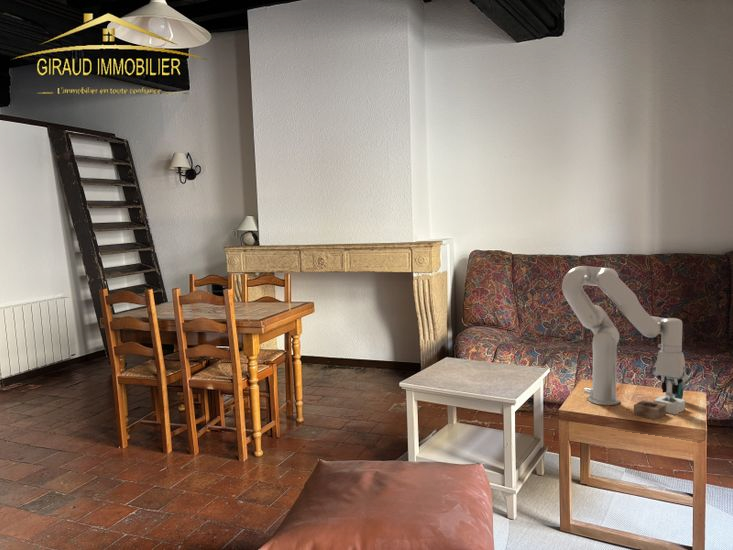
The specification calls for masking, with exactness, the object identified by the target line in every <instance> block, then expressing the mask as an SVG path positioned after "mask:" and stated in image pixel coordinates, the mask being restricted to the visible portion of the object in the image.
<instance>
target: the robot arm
mask: <svg viewBox="0 0 733 550" xmlns="http://www.w3.org/2000/svg"><path fill="white" fill-rule="evenodd" d="M584 286H592V287H598V288H599V289H600V290H601V291H602V292H603V294H605V295H606V296H607V298H609V299H610V300H611V301H612V302H613V304H615V306H616V307H617V308H618V309H619V310H620V311H621V313H622V314H623V315H624V316H625V317H626V319H627V320H628V321H629V322H630V323H631V324H632V326H634V328H635V329H637V331H638V332H639V333H640V334H642V336H644V337H646V338H651V339H652V338H656V337H657V336H659V335H660V336H661V337H660V338H661V339H660V341H661V343H659V344H657V348H659V349H660V350H658V353H657V359H656V364H655V370H654V371H653V372H652V374H653V375H654V376H655V377H656V378H658V379H659V380H660V383H661V391H662V393H665V392H666V378H668V377H672V378H674V382H675V383H674V385H673V394H677V393H678V392H679V384H680V383H681V382H683V383H684V382H686V381H689V376H688V375H687V372H686V361H685V355H684V352H682V351H683V321H682V320H681V319H679V318H677V317H667V318H666V317H659V316H652V315H650V314H649V313H648V312H647V311H646V310H645V308H644V307H643V306H642V305H641V303H640V301H639V299H638V297H637V295H636V294H635V292H633V291H632V289H630V288H629V286H627V284H625V282H623V281H622V279H620V278H619V273H618V272H617V271H616V270H615V269H613V268H611V267H600V266H599V267H597V266H588V265H580V266H579V265H578V266H576V267H573V268H571V269H570V270H568V271H567V273H565V275H564V277H563V280H562V284H561V292H562V294H563V296H564V298H565V300H566V302H567V303H568V305H569V306H570V308H571V309H572V311H573V313H574V314H575V316H576V317H577V319H578V320H579V322H580V324H581V325H582V326H583V327H584V328H586V329H588V330H590V331H591V332H592V333H593V337H592V385H591V386H592V388H588V387H584V389H583V393H584V394H587V395H589V396H588V397H587V398H588V399H587V400H588V401H589V402H590V403H592V404H594V405H595V404H596V405H600V406H617V405H618V404H620V401H621V400H620V399H619V397H617V371H618V370H617V364H618V363H617V361H618V360H617V359H618V356H617V355H618V354H617V352H618V351H617V349H618V346H617V345H618V343H619V340H620V333H619V330H618V328H617V327H616V326H615V324H614V323H613V322H612V320H611V318H610V317H609V315H608V314H607V313H606V311H605V310H604V308H602V307H601V306H600V305H598V304H594V303H593V301H592V300H591V299H590V297H589V296H588V294H587V292H585V290H584ZM682 376H683V378H681V377H682ZM680 378H681V379H680Z"/></svg>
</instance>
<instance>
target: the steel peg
mask: <svg viewBox="0 0 733 550" xmlns="http://www.w3.org/2000/svg"><path fill="white" fill-rule="evenodd" d="M674 383H675V382H674V379H673V378H668V377H667V378H666V392H664V393H665V394H664V396H665V401H669V402H674V401H675V394H673V385H674Z"/></svg>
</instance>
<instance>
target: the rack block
mask: <svg viewBox="0 0 733 550" xmlns="http://www.w3.org/2000/svg"><path fill="white" fill-rule="evenodd" d="M653 402H655V403H660V404H665V405H666V413H667V412H668V413H669V414H672V413H673V414H672V415H678V414H680V413H681V412H683V411H685V410H686V399H683V398H682V399H678V398H675V401H674V402H669V401H665V395H661V396H658V397H657V398H655V399H654V400H653ZM684 409H685V410H684ZM679 412H680V413H679ZM668 413H667V414H668Z"/></svg>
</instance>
